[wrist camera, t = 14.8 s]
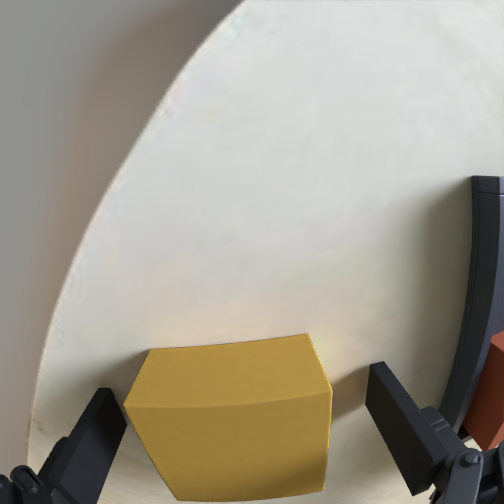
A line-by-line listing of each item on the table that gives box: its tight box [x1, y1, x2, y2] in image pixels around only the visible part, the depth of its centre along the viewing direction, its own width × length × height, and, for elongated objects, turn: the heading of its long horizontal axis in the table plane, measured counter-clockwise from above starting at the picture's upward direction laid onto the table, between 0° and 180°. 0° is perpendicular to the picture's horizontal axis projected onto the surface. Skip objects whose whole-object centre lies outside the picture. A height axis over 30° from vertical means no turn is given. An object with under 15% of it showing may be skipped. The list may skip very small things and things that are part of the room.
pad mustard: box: [123, 334, 333, 502], centre depth 11 cm, size 7×7×4 cm
